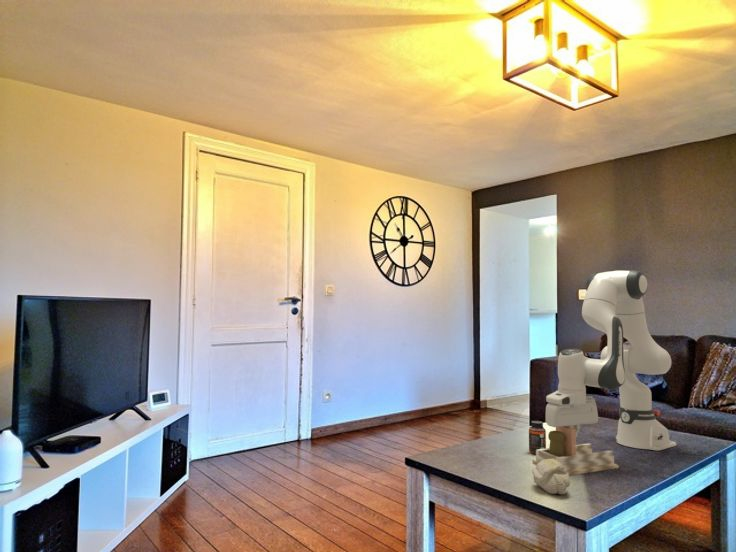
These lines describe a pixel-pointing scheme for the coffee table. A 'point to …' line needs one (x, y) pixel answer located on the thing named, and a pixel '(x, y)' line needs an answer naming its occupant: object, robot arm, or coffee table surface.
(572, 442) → the block
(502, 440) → the coffee table surface
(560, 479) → the fossil replica
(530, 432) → the supplement bottle
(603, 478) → the coffee table surface
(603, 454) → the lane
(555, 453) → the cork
